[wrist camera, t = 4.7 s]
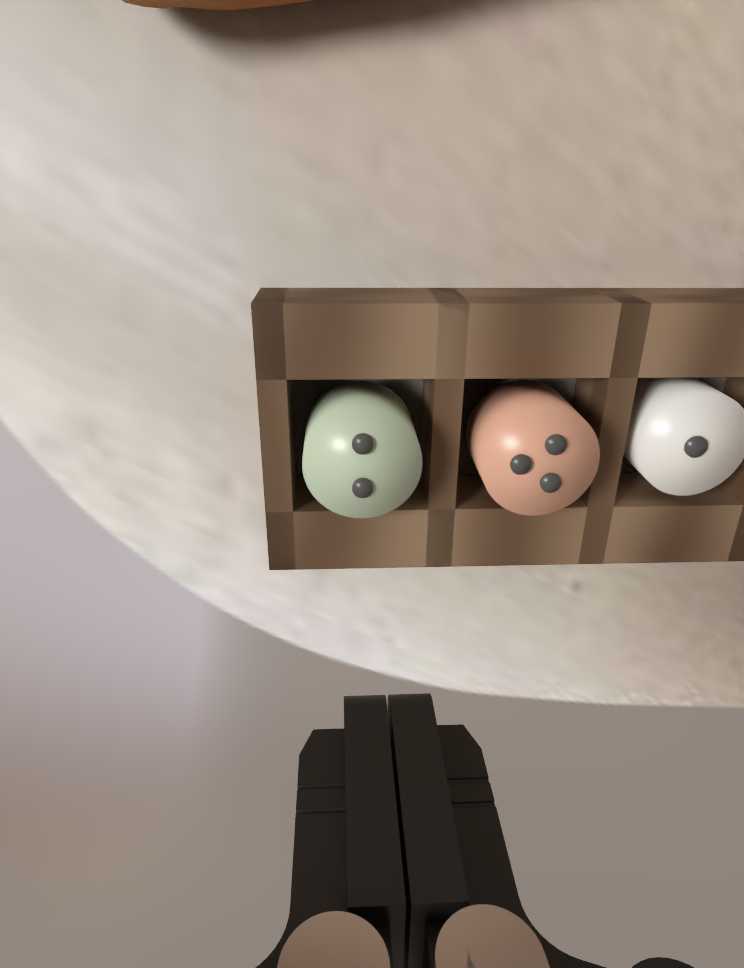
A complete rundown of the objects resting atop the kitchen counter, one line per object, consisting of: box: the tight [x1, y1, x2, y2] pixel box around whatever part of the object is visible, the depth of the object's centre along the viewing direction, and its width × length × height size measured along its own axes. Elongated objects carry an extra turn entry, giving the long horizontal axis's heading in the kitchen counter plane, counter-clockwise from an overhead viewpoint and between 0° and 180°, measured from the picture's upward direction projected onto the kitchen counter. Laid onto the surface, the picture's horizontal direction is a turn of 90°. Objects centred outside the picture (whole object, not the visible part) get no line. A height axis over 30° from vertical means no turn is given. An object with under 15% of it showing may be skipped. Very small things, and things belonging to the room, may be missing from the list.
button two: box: [302, 381, 422, 518], centre depth 23 cm, size 4×4×3 cm
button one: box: [623, 377, 744, 496], centre depth 25 cm, size 4×4×3 cm
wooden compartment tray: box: [251, 288, 744, 570], centre depth 25 cm, size 19×10×3 cm, turn 90°
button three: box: [466, 380, 600, 516], centre depth 23 cm, size 4×4×3 cm
